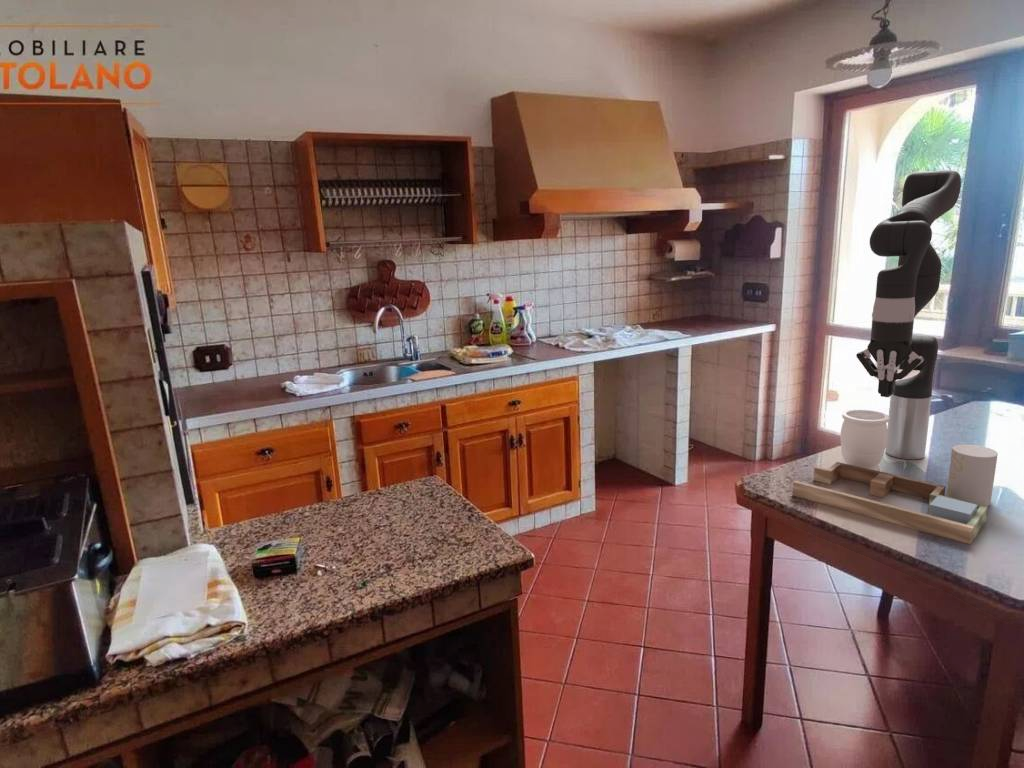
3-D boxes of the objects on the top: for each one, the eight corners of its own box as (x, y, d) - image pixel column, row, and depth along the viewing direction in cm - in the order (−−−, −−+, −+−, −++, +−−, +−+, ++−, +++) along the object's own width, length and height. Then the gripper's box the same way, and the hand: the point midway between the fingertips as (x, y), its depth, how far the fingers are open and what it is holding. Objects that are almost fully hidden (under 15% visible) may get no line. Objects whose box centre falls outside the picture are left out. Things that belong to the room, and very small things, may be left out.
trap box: (825, 471, 156) (825, 459, 155) (992, 511, 130) (994, 496, 130) (792, 495, 144) (793, 482, 143) (970, 544, 118) (972, 528, 117)
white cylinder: (947, 489, 142) (953, 442, 139) (991, 496, 137) (998, 448, 134) (944, 501, 136) (951, 453, 133) (990, 510, 131) (997, 459, 128)
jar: (877, 462, 160) (882, 409, 157) (890, 477, 151) (895, 421, 147) (834, 460, 163) (837, 408, 159) (843, 475, 153) (847, 420, 150)
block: (935, 516, 130) (937, 495, 129) (974, 526, 125) (977, 504, 124) (927, 525, 127) (929, 504, 125) (967, 536, 121) (970, 514, 120)
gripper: (934, 317, 123) (926, 397, 128) (865, 314, 133) (859, 388, 137) (923, 322, 119) (915, 405, 123) (852, 318, 128) (846, 395, 133)
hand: (885, 396), depth 130 cm, fingers closed
